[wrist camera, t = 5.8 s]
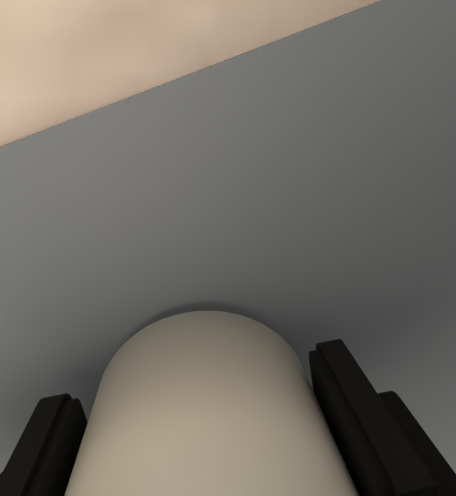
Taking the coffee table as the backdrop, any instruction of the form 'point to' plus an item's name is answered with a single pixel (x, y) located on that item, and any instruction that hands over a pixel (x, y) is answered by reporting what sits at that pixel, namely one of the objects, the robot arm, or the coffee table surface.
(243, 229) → the dial board
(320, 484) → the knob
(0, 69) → the coffee table surface
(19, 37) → the coffee table surface
